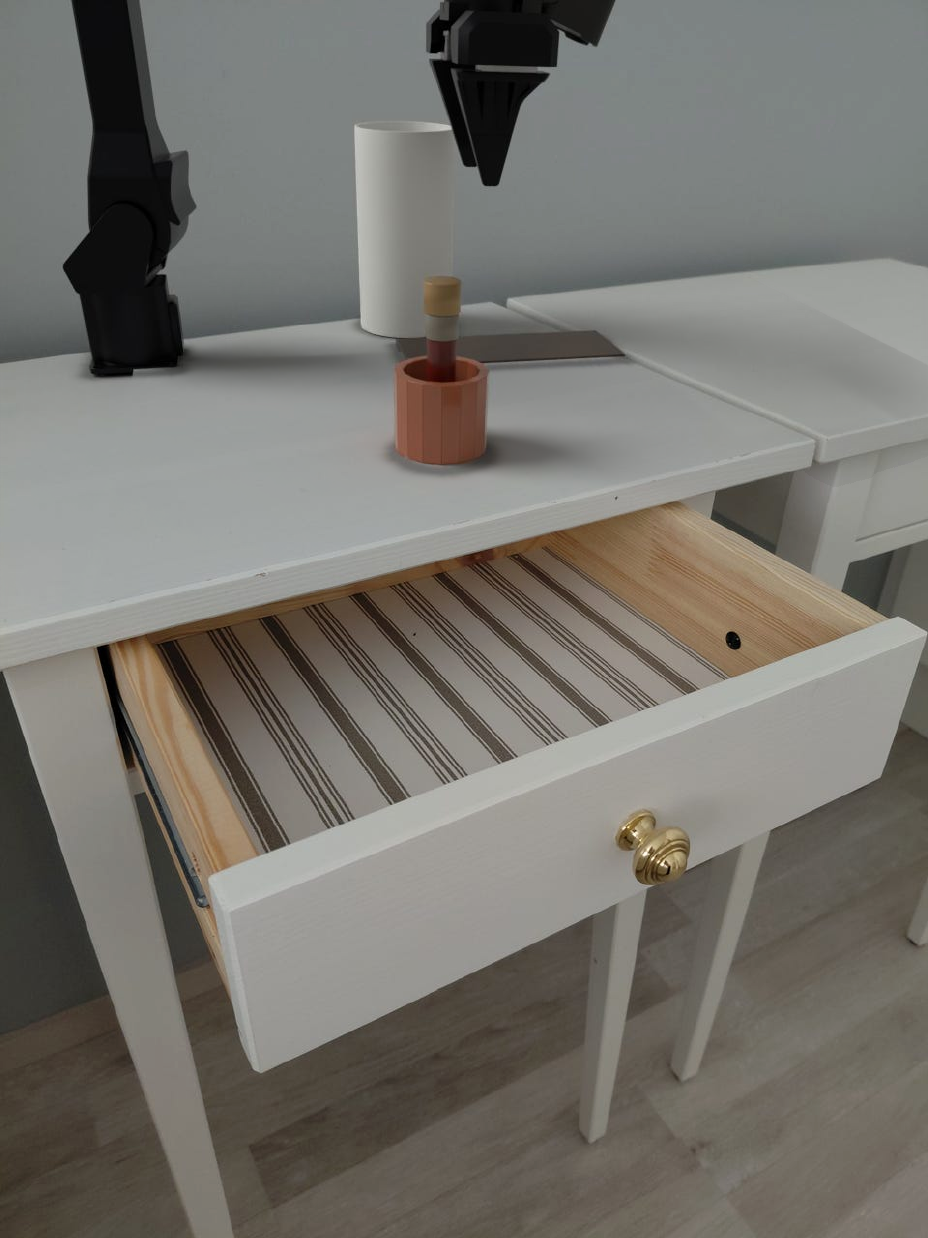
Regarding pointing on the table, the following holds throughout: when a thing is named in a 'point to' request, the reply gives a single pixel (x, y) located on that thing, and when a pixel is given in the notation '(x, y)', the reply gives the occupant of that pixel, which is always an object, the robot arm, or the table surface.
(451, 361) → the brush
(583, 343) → the mat
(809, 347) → the table surface
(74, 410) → the table surface
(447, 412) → the pot
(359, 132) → the cup
